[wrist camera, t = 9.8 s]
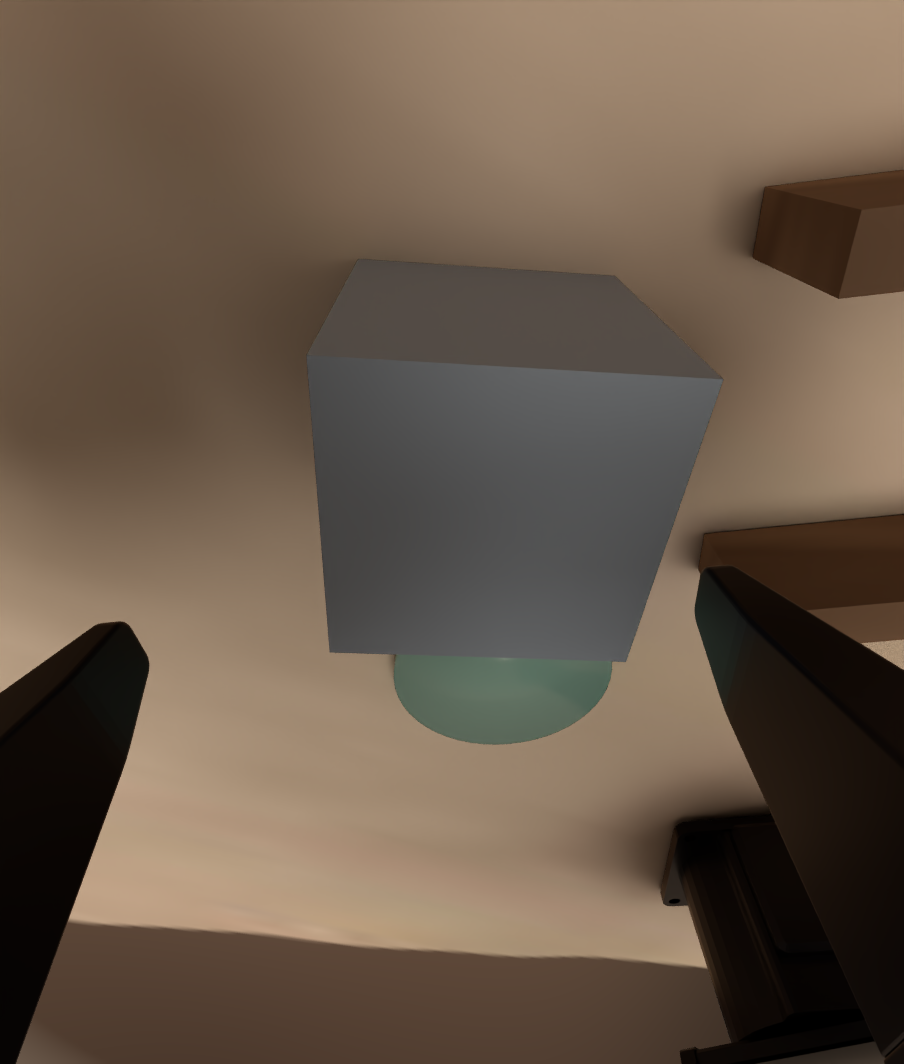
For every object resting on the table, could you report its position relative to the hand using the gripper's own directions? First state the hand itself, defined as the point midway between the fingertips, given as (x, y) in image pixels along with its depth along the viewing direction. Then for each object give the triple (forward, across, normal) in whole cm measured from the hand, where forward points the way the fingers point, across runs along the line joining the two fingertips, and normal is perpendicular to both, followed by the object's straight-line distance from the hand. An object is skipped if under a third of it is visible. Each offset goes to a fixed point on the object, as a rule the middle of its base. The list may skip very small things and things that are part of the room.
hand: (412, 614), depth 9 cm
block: (+6, -1, -1) cm, 6 cm away
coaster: (+5, -1, +7) cm, 9 cm away
